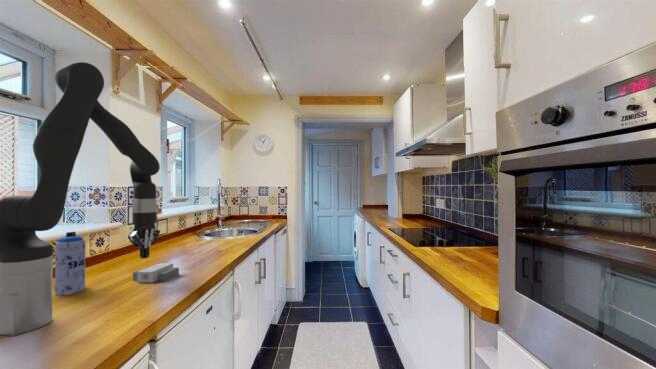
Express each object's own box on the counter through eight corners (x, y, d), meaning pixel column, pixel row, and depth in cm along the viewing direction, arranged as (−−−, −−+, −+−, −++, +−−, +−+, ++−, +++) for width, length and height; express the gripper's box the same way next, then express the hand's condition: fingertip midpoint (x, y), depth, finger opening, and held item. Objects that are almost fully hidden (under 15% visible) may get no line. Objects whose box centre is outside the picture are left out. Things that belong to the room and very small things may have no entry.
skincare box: (152, 283, 100) (173, 273, 112) (152, 271, 100) (173, 262, 112) (136, 282, 101) (159, 273, 113) (136, 271, 101) (159, 262, 113)
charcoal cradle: (164, 282, 102) (164, 273, 102) (132, 280, 103) (133, 272, 103) (178, 275, 109) (178, 267, 110) (149, 273, 111) (149, 266, 111)
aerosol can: (63, 296, 88) (63, 234, 88) (48, 293, 90) (49, 233, 91) (91, 288, 95) (91, 230, 95) (76, 285, 98) (77, 229, 98)
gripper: (139, 212, 94) (139, 263, 94) (167, 209, 107) (166, 253, 107) (120, 212, 95) (119, 262, 95) (149, 209, 108) (149, 253, 108)
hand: (144, 257), depth 101 cm, fingers closed
